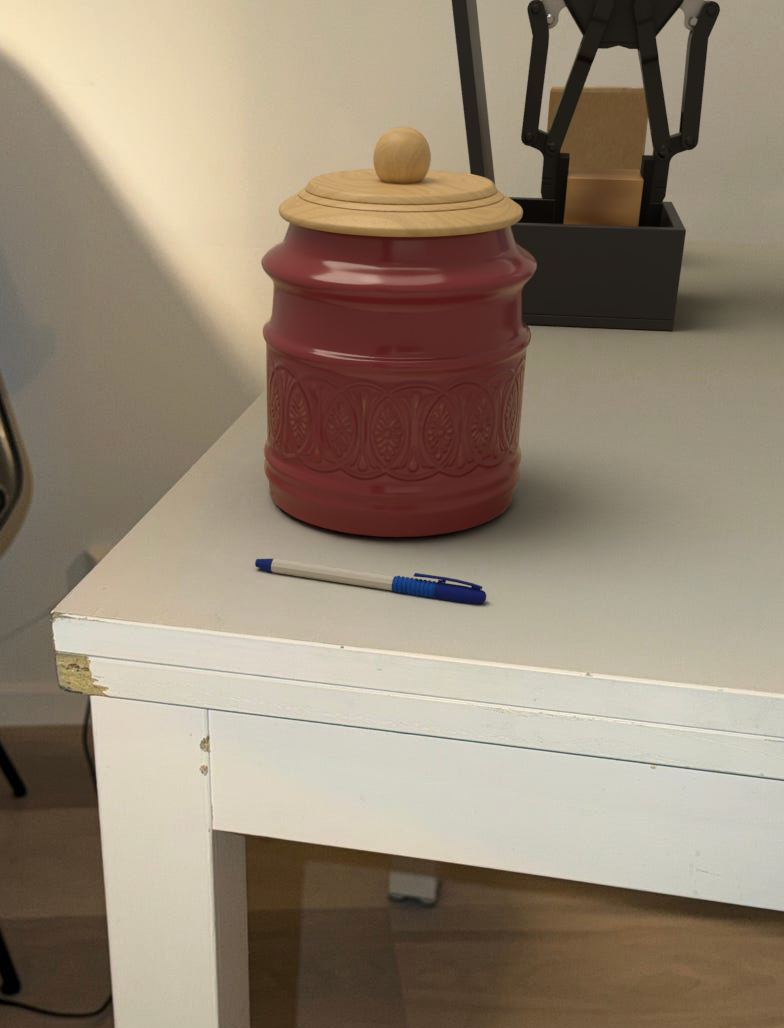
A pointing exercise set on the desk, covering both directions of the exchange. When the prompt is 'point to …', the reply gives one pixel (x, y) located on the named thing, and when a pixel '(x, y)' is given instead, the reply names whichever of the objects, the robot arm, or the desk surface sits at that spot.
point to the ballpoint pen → (381, 580)
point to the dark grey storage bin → (601, 269)
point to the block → (603, 197)
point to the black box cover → (473, 88)
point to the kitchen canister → (396, 348)
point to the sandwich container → (604, 127)
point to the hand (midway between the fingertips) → (596, 244)
